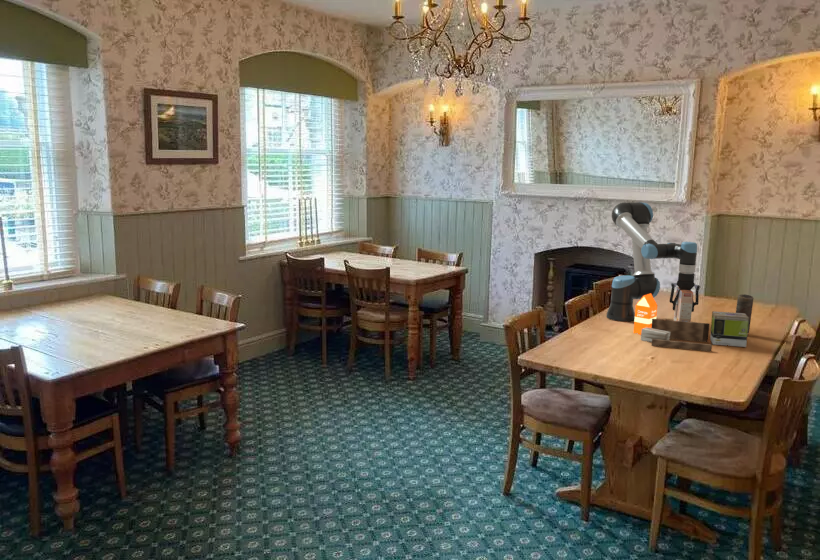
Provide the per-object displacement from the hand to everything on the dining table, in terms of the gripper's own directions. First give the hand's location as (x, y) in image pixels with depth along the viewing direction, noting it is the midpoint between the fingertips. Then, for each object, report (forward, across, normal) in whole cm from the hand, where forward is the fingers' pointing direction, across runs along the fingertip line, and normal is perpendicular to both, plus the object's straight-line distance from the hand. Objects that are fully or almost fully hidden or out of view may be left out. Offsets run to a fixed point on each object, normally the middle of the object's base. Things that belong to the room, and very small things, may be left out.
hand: (682, 317), depth 342 cm
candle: (+8, +29, +8) cm, 31 cm away
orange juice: (+8, -18, -9) cm, 22 cm away
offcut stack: (+8, -13, -25) cm, 30 cm away
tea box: (+8, +20, -15) cm, 26 cm away
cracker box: (+7, 0, 0) cm, 7 cm away
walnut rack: (+8, -2, -24) cm, 25 cm away
